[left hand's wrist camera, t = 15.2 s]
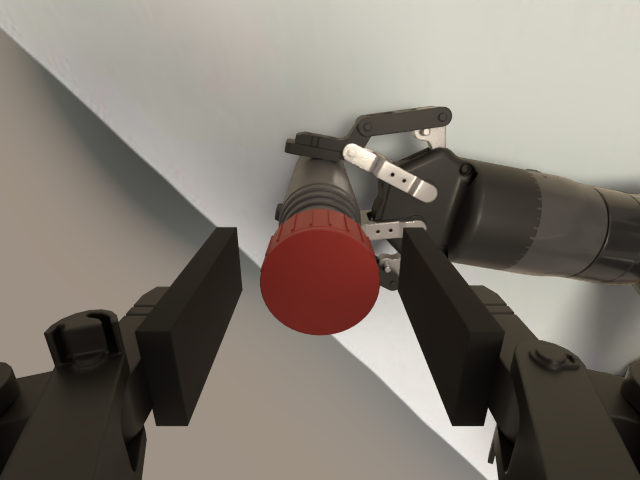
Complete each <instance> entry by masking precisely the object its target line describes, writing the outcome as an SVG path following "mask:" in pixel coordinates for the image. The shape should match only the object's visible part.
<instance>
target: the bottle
mask: <svg viewBox="0 0 640 480" xmlns="http://www.w3.org/2000/svg"><path fill="white" fill-rule="evenodd" d="M311 209H330V210H333V211H336V212H339V213H342V214H346V215H347V216H348V217H349V218H351V219H352V220H354V221H355V222H356V223H357V224H358V223H359V224H360V226H361V215H360V210H359V208H358V205H357V202H356V199H355V196H354V193H353V190H352V187H351V184H350V182H349V179H348V176H347V173H346V170H345V167H344V164H343V161H342V159H340V160H339V163H338V162H333V161H328V160H323V159H317V158H311V157H306V156H300V158H299V160H298V162H297V165H296V168H295V171H294V173H293V176H292V179H291V182H290V185H289V188H288V191H287V194H286V196H285V199H284V202H283V205H282V208H281V211H280V216H279V227H280V225H281V223H284V222H285V221H286V220H288V219H289V218H291V217H292V216H294V214H298V213H301V212H304V211H307V210H311Z"/></svg>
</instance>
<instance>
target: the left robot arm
mask: <svg viewBox="0 0 640 480" xmlns="http://www.w3.org/2000/svg"><path fill="white" fill-rule="evenodd" d="M241 292H242V280H241V269H240V258H239V247H238V236H237V227H217V228H216V229H215V230H214V232H213V233H212V234H211V235H210V237H209V238H208V239H207V241H206V242H205V243H204V244H203V246H202V247H201V248H200V250H199V251H198V252H197V253H196V254H195V256H194V257H193V258H192V260H191V261H190V262H189V263H188V265H187V266H186V267H185V269H184V270H183V271H182V272H181V273H180V275H179V276H178V277H177V279H176V280H175V281H174V282H173V284H172V285H171V286H170V287H156V288H154V289H152V290H151V291H149V292H148V293H146V294H144V295H143V296H142V297H141V298H140V299H139V300H138V301H137V302H136V303H135V304H134V307H132V308H131V309H130V310H129V311H128V312H127V314H126V316H124V317H123V318H122V319H121V320H120V321H119V322H118V318H117V315H116V314H115V313H113V312H112V311H108V310H102V309H100V310H88V311H84V312H80V313H76V314H73V315H71V316H68V317H66V318H63V319H61V320H60V321H58V322H56V323H55V324H53V325H51V326H50V327H49V328H48V329H47V331H46V332H45V333H44V335H45V338H46V341H47V344H48V347H49V350H50V353H51V356H52V359H53V361H54V364H55V367H54V369H53V371H50V372H46V373H41V374H36V375H31V376H27V377H22V378H17V379H16V377H15V375H14V372H13V370H12V367H11V366H9V365H8V364H7V363H2V362H0V480H142V473H143V464H144V457H145V448H146V441H147V439H146V432H145V428H144V423H145V421H146V419H147V417H148V415H149V414H150V412H151V410H152V409H153V414H154V418H155V423H156V426H188V424H189V422H190V419H191V417H192V414H193V412H194V409H195V407H196V404H197V402H198V399H199V397H200V394H201V392H202V389H203V387H204V384H205V382H206V379H207V377H208V374H209V372H210V369H211V367H212V364H213V362H214V359H215V357H216V354H217V352H218V349H219V347H220V344H221V342H222V339H223V337H224V334H225V332H226V329H227V327H228V324H229V322H230V320H231V317H232V314H233V312H234V309H235V307H236V305H237V302H238V299H239V297H240V295H241ZM398 292H399V295H400V297H401V300H402V302H403V305H404V307H405V310H406V312H407V315H408V317H409V320H410V322H411V324H412V327H413V329H414V332H415V334H416V337H417V339H418V342H419V344H420V347H421V349H422V352H423V354H424V357H425V359H426V362H427V364H428V367H429V369H430V372H431V374H432V377H433V379H434V382H435V384H436V387H437V389H438V392H439V394H440V397H441V399H442V402H443V404H444V407H445V409H446V412H447V414H448V417H449V419H450V422H451V424H452V426H484V423H485V418H486V414H487V409H488V408H489V410H490V412H491V414H492V415H493V417H494V419H495V421H496V423H497V424H496V428H495V432H494V436H493V440H492V444H491V448H490V452H489V457H488V463H491V464H493V461H494V458H495V456H496V464H497V471H498V479H499V480H640V361H635V362H633V363H632V364H630V365H629V367H628V370H627V372H626V375H625V377H622V376H617V375H612V374H607V373H602V372H597V371H592V370H589V369H586V367H585V365H584V364H583V363H582V361H581V360H580V359H579V358H578V357H577V356H576V355H574V354H573V353H572V352H570V351H569V350H567V349H565V348H563V347H561V346H558V345H556V344H553V343H550V342H546V341H542V340H538V339H537V337H536V336H535V335H534V334H533V333H532V332H531V331H530V330H529V328H528V327H527V326H526V325H525V324H524V323H523V322H522V321H521V320H520V318H519V317H518V316H517V315H514V312H513V311H512V310H511V308H510V307H509V306H507V304H506V303H505V302H504V301H503V300H502V298H501V297H500V296H499V295H498V294H497V293H495V292H493V291H492V290H490V289H488V288H486V287H485V286H469V285H468V284H467V282H466V281H465V280H464V279H463V277H462V276H461V275H460V273H459V272H458V271H457V270H456V268H455V267H454V266H453V265H452V263H451V262H450V261H449V260H448V258H447V257H446V256H445V254H444V253H443V252H442V251H441V249H440V248H439V247H438V246H437V244H436V243H435V242H434V241H433V239H432V238H431V237H430V235H429V234H428V233H427V232H426V230H425V229H424V228H423V227H403V236H402V247H401V258H400V269H399V280H398Z"/></svg>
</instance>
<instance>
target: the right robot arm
mask: <svg viewBox="0 0 640 480" xmlns="http://www.w3.org/2000/svg"><path fill="white" fill-rule="evenodd" d="M451 119H452V113H451V111H450V109H449V108H447V107H439V106H428V107H421V108H413V109H406V110H398V111H391V112H384V113H376V114H369V115H362V116H359V117H358V118H357V119H356V121H355V124H354V126H353V128H352V129H351V131H350V133H349V134H348V135H347V136H345V137H343V138H336V137H330V136H325V135H320V134H314V133H309V132H301V133H297V135H296V139H295V140H294V139H287V141H286V145H285V152H286V153H290V154H295V155H300V156H306V157H311V158H317V159H323V160H328V161H333V162H338V163H339V160H340V159H342V160H346V161H348V162H350V163H352V164H354V165H356V166H358V167H360V168H362V169H364V170H365V171H367V172H369V173H371V174H372V175H374V176H375V177H377V178H379V182H378V196H377V198H376V199H375V201H374V203H373V206H372V209H370V210H360V215H361V228H362V229H363V231H364V233H365V234H366V236H367V237H369V239H370V240H380V239H386V240H387V241H388V242H389V243H390V244H391V245H392V246H393V247H394V248H395V249H396V250H397V251H398V252H397V253H396V254H394V255H389V254H381V255H380V256H379V257H377V256H375V259H376V262H377V265H378V268H379V271H380V273H379V276H380V286H382V287H384V288H386V289H388V290H391V291H394V290H397V289H398V280H399V269H400V258H401V247H402V236H403V227H423V228H424V229H425V230H426V232H427V233H428V234H429V235H430V237H431V238H432V239H433V241H434V242H435V243H436V244H437V246H438V247H439V248H440V249H441V251H442V252H443V253H444V254H445V256H446V257H447V258H448V260H449V261H450V262H454V263H459V264H465V265H471V266H477V267H483V268H489V269H495V270H501V271H507V272H513V273H519V274H525V275H533V276H556V277H563V278H569V279H575V280H581V281H587V282H592V283H598V284H605V285H631V284H632V285H633V287H634V288H635V290H636V291H637V293H638V294H639V295H640V194H629V193H625V192H620V191H615V190H610V189H605V188H599V187H594V186H589V185H584V184H580V183H577V182H574V181H571V180H568V179H566V178H562V177H559V176H555V175H550V174H544V173H541V172H539V171H537V170H531V169H526V170H523V169H518V168H513V167H508V166H502V165H497V164H492V163H487V162H481V161H476V160H471V159H465V158H461V157H458V156H456V155H455V154H454V153H453V152H452V151H451V150H449V149H447V148H446V125H448V124H449V123H450V121H451ZM407 131H411V132H412V135H413V136H414V137H415V138H417V139H419V140H425V141H426V142H427V143H428V148H426V149H424V150H421V151H419V152H417V153H415V154H413V155H411V156H409V157H406V158H404V159H402V160H400V161H398V162H394V161H392V160H390V159H388V158H386V157H385V156H383V155H381V154H379V153H377V152H375V151H372V150H370V149H368V148H366V147H365V146H366V144H367V142H368V141H369V139H370V137H371V136H376V135H384V134H392V133H399V132H407ZM282 205H283V204H278V206H277V208H276V214H275V220H277V221H279V216H280V211H281V208H282ZM371 217H372V218H371ZM377 230H378V231H377Z"/></svg>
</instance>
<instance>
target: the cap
mask: <svg viewBox="0 0 640 480" xmlns="http://www.w3.org/2000/svg"><path fill="white" fill-rule="evenodd" d="M379 273H380V271H379V268H378V265H377V262H376V259H375V253H374V251H373V248H372V245H371V242H370V239H369V237H367V236H366V234H365V233H364V231H363V229H362V228H361V226H360V224H359V223H358V224H357V223H356V222H355V221H354V220H352V219H351V218H349V217H348V216H347V215H346V214H342V213H339V212H336V211H333V210H330V209H311V210H307V211H304V212H301V213H298V214H294V216H292V217H291V218H289V219H288V220H286V221H285V222H284V223H281V225H280V227H279V228H278V230H277V231H276V233H275V234H274V236H272V237H271V240H270V243H269V245H268V248H267V251H266V254H265V259H264V262H263V265H262V267H261V277H260V287H261V293H262V297H263V299H264V302H265V304H266V306H267V307H268V309H269V311H270V312H271V313H272V314H273V315H274V317H275V318H277V319H278V320H279V321H280V322H281V323H283V324H284V325H286V326H287V327H289V328H291V329H293V330H296V331H298V332H301V333H305V334H310V335H330V334H335V333H339V332H342V331H345V330H347V329H349V328H351V327H353V326H355V325H356V324H357V323H359V322H360V321H361V320H363V319H364V318H365V317H366V316H367V314H368V313H369V312H370V311H371V309H372V308H373V306H374V304H375V302H376V300H377V297H378V294H379V288H380V276H379Z"/></svg>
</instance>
